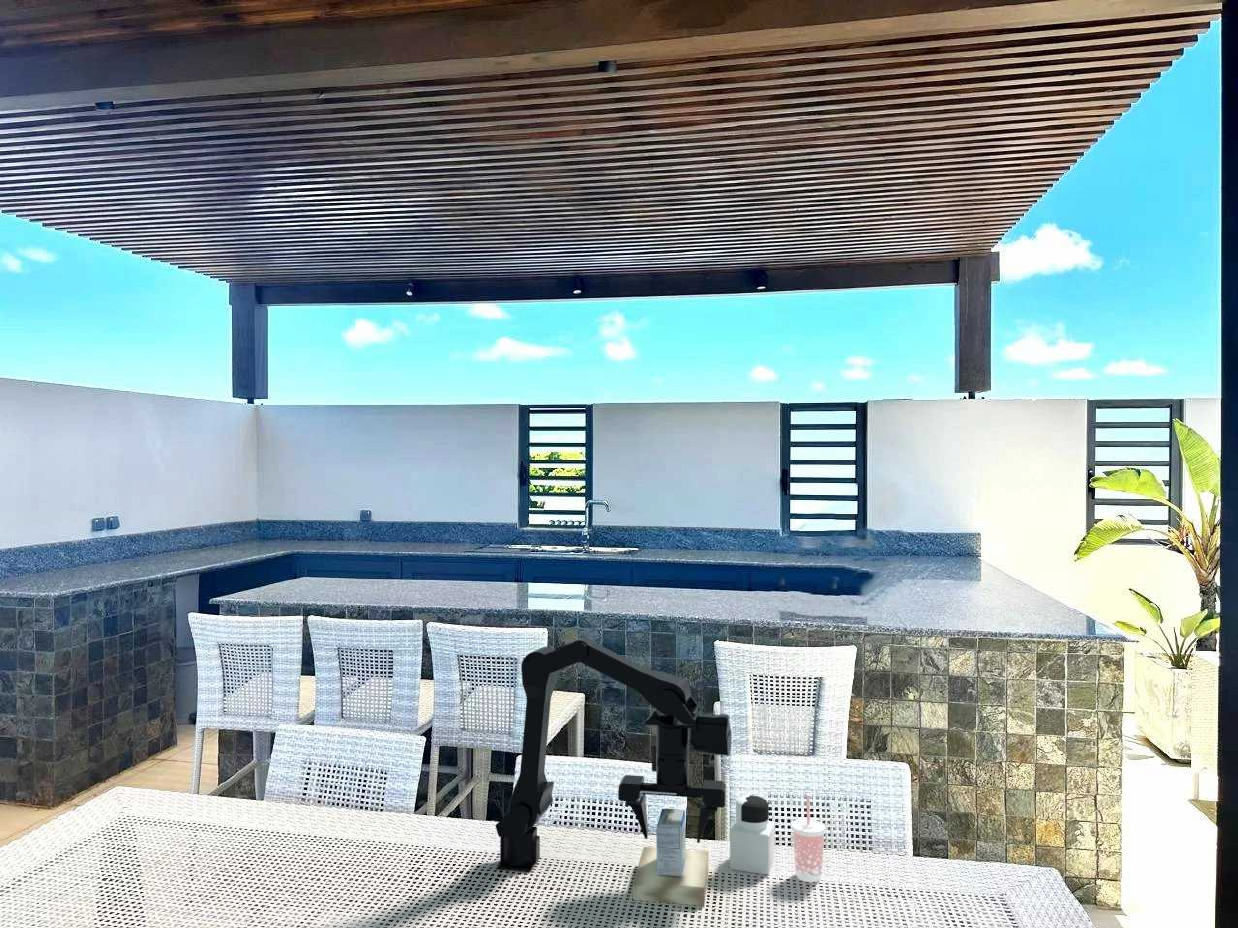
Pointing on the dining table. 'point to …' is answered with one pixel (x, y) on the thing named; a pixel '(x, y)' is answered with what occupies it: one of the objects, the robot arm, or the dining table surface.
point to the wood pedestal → (672, 880)
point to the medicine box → (671, 842)
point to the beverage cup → (808, 847)
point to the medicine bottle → (752, 836)
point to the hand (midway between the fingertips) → (672, 839)
